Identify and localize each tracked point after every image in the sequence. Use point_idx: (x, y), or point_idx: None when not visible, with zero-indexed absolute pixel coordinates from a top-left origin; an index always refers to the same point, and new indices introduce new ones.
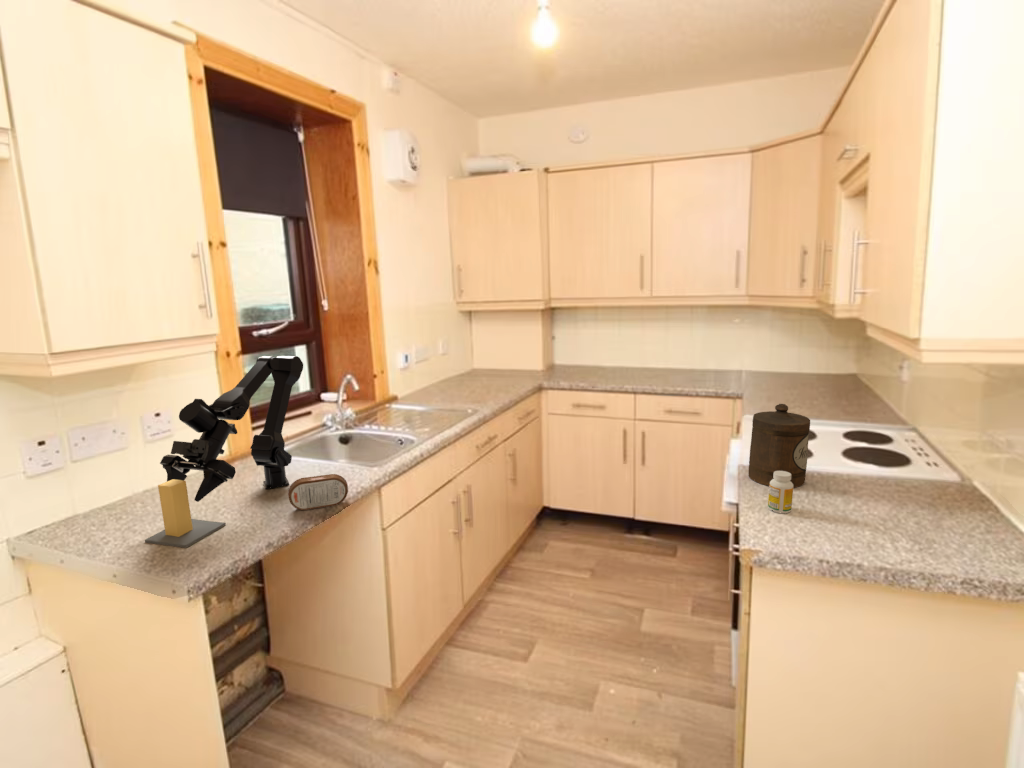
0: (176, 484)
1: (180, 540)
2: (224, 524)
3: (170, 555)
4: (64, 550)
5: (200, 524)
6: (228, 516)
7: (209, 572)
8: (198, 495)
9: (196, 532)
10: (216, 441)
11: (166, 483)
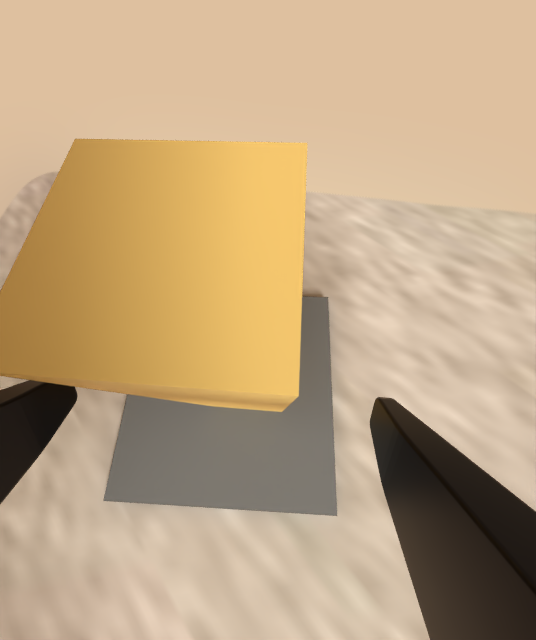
0: (45, 206)
1: None
2: (108, 491)
3: None
4: (523, 216)
5: (212, 459)
6: (152, 612)
7: (11, 210)
8: (3, 390)
9: None
10: None
11: (236, 207)
